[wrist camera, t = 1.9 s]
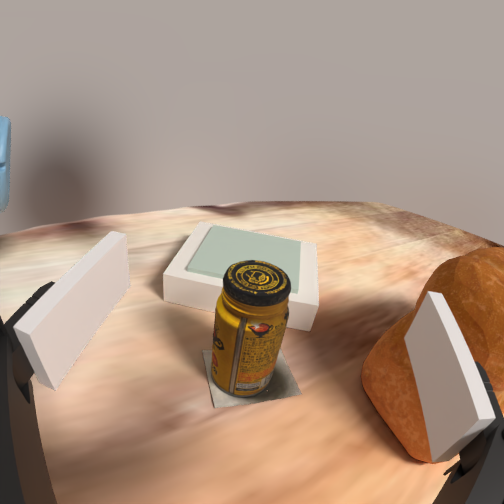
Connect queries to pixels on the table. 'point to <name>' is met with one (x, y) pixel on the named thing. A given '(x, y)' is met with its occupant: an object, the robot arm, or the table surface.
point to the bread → (472, 328)
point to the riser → (235, 250)
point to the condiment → (250, 337)
